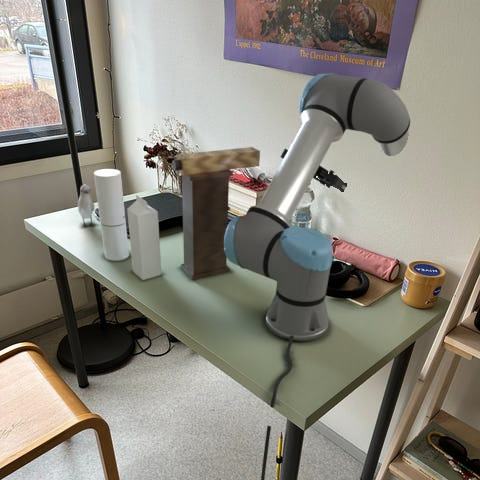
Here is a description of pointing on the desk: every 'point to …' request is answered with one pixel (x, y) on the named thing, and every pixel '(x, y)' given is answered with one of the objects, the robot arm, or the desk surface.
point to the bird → (85, 203)
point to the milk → (144, 239)
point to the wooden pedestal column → (205, 223)
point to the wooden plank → (216, 160)
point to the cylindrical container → (112, 213)
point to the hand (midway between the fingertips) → (296, 159)
